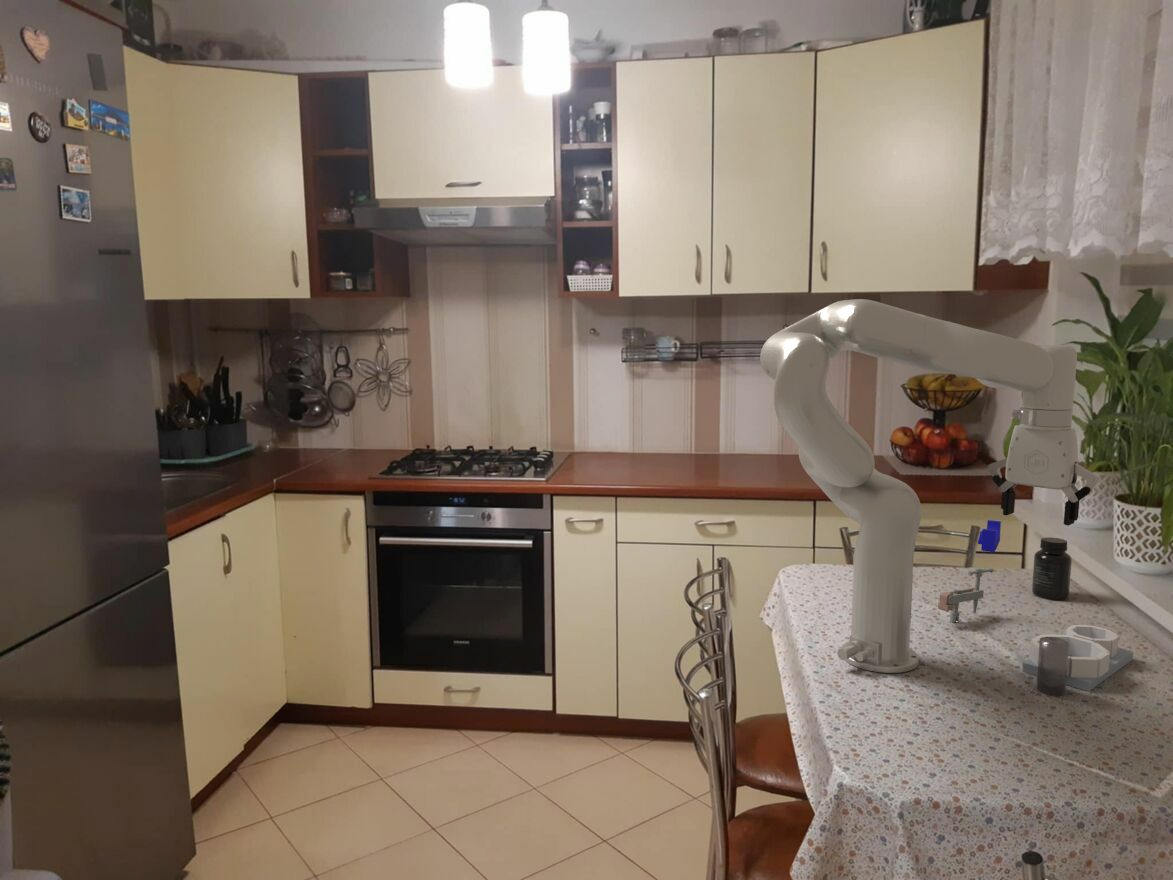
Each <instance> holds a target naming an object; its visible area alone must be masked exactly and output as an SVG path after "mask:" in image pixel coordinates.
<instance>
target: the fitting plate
mask: <svg viewBox="0 0 1173 880" xmlns="http://www.w3.org/2000/svg"><path fill="white" fill-rule="evenodd" d="M1065 630H1066V631H1065V634H1049V633H1048V634H1039V635H1037V636H1036V637H1033V638H1032V639H1030V645H1029V658H1028V659H1027V660H1025V661H1023V662H1022V672H1024V673H1027V674H1030V675H1033V676H1036V677H1037V671H1038V657H1039V643H1040V638H1042V637H1056V638H1060V639H1063V640H1066V641H1067V642H1068V643H1069V653H1068V666H1067V679H1066V686H1068V687H1069V686H1070V687H1073V688H1076V689H1078V690H1079V689H1080V690H1083V691H1086V692H1090V691H1091V690H1093V689H1094V688H1096V687H1097V686H1098V685H1100V684H1101V683H1102V682H1104V681H1105V680H1107V679H1109V678H1110V677H1111V676H1112V675H1113V674H1115V673H1116V672H1118V671H1120V670H1121V669H1122V668H1123V667H1125V666H1126V665H1127V664H1129V663H1131V662H1132V661H1133V660H1134V651H1133V650H1131V649H1130V650H1129V649H1126V648H1122V647H1119V639H1120V638H1119V635H1118V634H1116V633H1115V632H1113V630H1109V628H1108V629H1107V628H1104V627H1100V626H1095V625H1090V624H1089V625H1088V624H1074V625H1073V624H1072V625H1070V626H1068V627H1066V629H1065Z"/></svg>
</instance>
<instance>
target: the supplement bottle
mask: <svg viewBox="0 0 1173 880" xmlns="http://www.w3.org/2000/svg"><path fill="white" fill-rule="evenodd" d="M1039 547H1040V550H1037V551H1036V552H1035V553H1034V557H1033V570H1032V571H1033V573H1032V582H1031V584H1032V585H1031V592H1032V594H1033V595H1034V596H1036V597H1037V598H1041V599H1044V600H1049V601H1064V600H1065V601H1066V600H1068V598H1069V597H1070V587H1071V576H1072V575H1071V574H1072V557H1071V556H1070V554H1069V553H1067V551H1068V541H1067V540H1066V539H1065V538H1059V537H1050V536H1049V537H1046V536H1045V537H1041V539H1040V545H1039Z"/></svg>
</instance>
